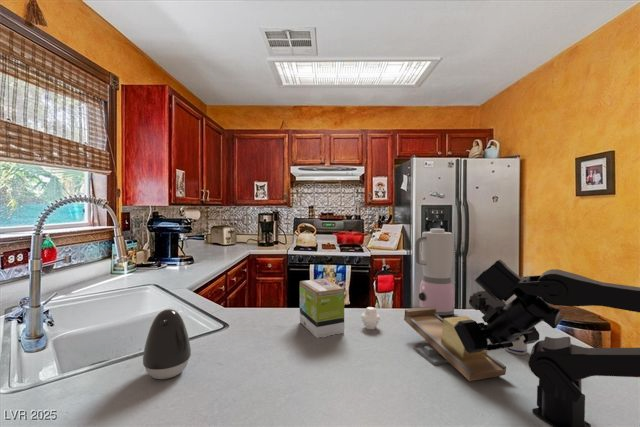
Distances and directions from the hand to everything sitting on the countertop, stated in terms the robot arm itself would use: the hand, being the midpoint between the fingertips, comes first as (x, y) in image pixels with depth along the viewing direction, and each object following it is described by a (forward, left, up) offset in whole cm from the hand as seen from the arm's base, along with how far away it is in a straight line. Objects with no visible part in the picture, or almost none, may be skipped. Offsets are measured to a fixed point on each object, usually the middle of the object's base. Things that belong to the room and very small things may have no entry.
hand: (476, 347), depth 74 cm
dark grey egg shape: (+20, +71, -7) cm, 74 cm away
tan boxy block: (+5, 0, -3) cm, 6 cm away
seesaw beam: (+11, 0, -4) cm, 11 cm away
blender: (+41, -17, -7) cm, 45 cm away
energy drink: (+8, -20, -7) cm, 23 cm away
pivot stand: (+11, 0, -7) cm, 12 cm away
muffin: (+34, +12, -7) cm, 36 cm away
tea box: (+38, +28, -7) cm, 47 cm away
